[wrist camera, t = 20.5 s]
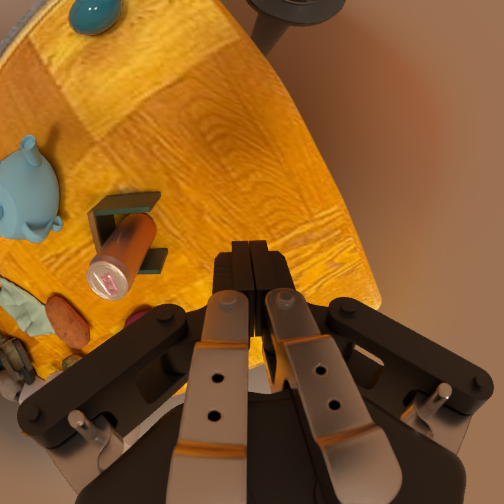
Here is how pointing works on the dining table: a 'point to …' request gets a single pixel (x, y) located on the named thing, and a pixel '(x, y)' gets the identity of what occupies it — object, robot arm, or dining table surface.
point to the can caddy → (105, 225)
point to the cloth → (24, 309)
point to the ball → (94, 15)
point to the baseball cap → (10, 386)
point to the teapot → (28, 194)
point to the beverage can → (121, 257)
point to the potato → (67, 323)
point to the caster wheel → (25, 375)
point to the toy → (13, 356)
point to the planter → (1, 365)
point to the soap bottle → (30, 391)
